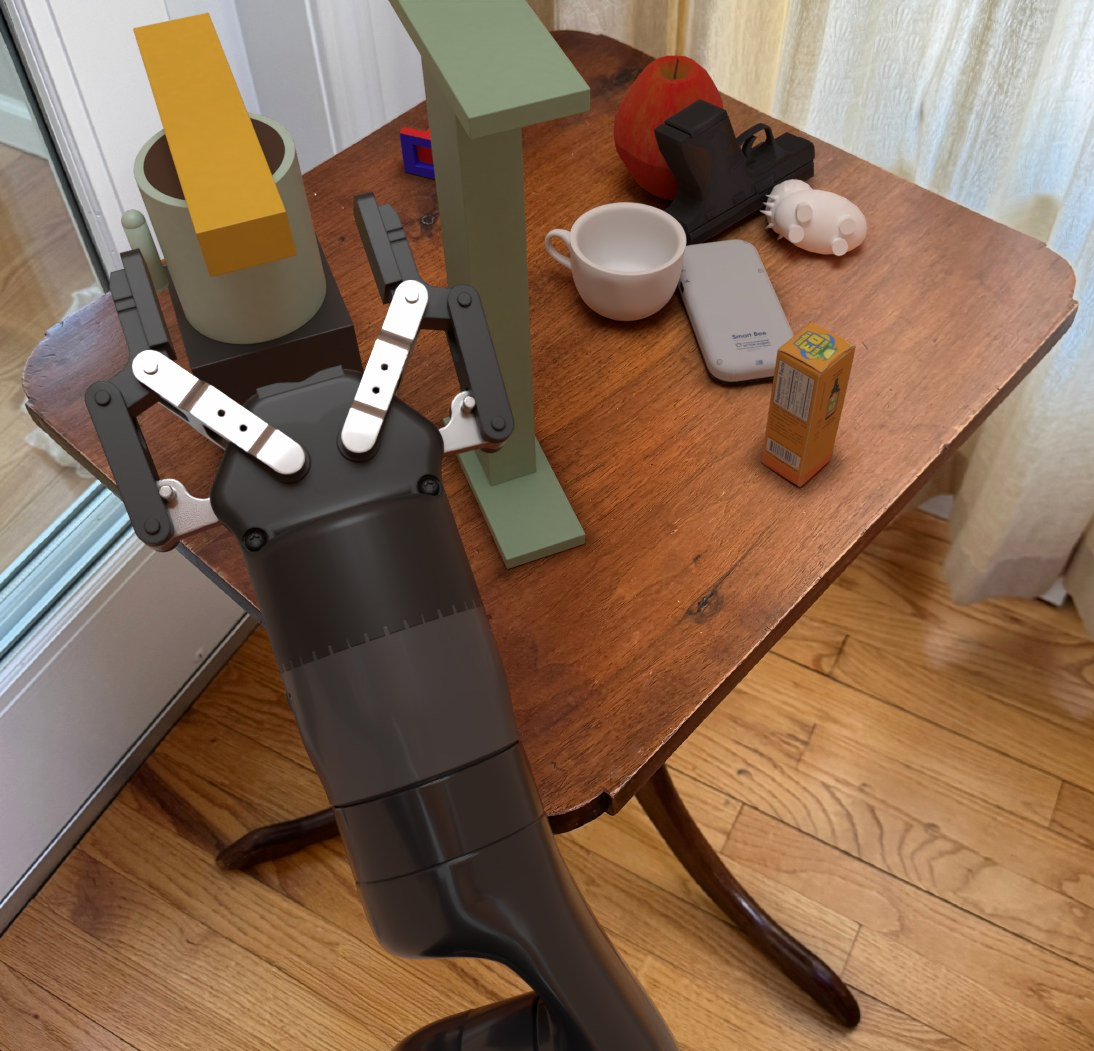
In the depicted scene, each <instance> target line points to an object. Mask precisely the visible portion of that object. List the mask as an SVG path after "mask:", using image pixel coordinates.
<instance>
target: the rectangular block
mask: <svg viewBox="0 0 1094 1051" xmlns="http://www.w3.org/2000/svg"><path fill="white" fill-rule="evenodd" d="M132 30H133V34H134V37H135V40H136V44H137V47H138V50H139V53H140V56H141V57H140V58H141V60H142V63H143V66H144V70H145V73H146V76H147V80H148V83H149V86H150V89H151V93H152V96H153V100H154V102H155V105H156V108H157V112H158V115H159V118H160V122H161V124H162V129H164V132H165V135H166V138H167V141H168V145H169V148H170V151H171V154H172V158H173V161H174V164H175V167H176V171H177V174H178V177H179V180H180V184H181V187H182V190H183V193H184V197H185V200H186V203H187V207H188V210H189V213H190V216H191V220H192V223H193V226H194V229H195V233H196V236H197V239H198V242H199V245H200V248H201V251H202V254H203V257H204V260H205V263H206V266H207V269H208V272H209V275H210V277H215V276H218V275H222V274H226V273H230V272H234V271H238V270H242V269H246V268H250V267H254V266H257V265H261V264H265V263H269V262H273V261H277V260H281V259H285V258H289V257H293V256H296V255H297V253H296V249H295V245H294V241H293V237H292V233H291V229H290V225H289V221H288V217H287V213H286V210H285V207H284V204H283V202H282V199H281V197H280V194H279V192H278V189H277V187H276V184H275V181H274V179H273V176H272V174H271V171H270V169H269V166H268V163H267V161H266V158H265V156H264V153H263V151H262V148H261V146H260V143H259V140H258V138H257V135H256V133H255V130H254V128H253V125H252V122H251V120H250V117H249V115H248V110H247V108H246V105H245V103H244V102H245V101H244V100H243V97H242V95H241V92H240V90H239V87H238V83H237V81H236V79H235V77H234V74H233V71H232V69H231V66H230V63H229V61H228V58H227V56H226V54H225V51H224V49H223V45H222V43H221V41H220V38H219V36H218V33H217V31H216V27H215V25H214V22H213V20H212V18H211V15H210V13H209V12H203V13H200V14H195V15H190V16H185V17H181V18H176V19H175V18H174V19H171V20H166V21H161V22H156V23H151V24H148V25H147V24H146V25H142V26H138V27H137V26H136V27H133V28H132Z"/></svg>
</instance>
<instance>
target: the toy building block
mask: <svg viewBox="0 0 1094 1051" xmlns="http://www.w3.org/2000/svg"><path fill="white" fill-rule="evenodd" d="M399 140H400V149H401V156H402V163H403V171H404V173H407V174H411V175H414V176H419V177H424V178H427V179H431V180H435V172H434V164H433V155H432V147H431V138H430V130H429V125H428V126H427V127H426V129H425V130H419V129H415V128H411V127H407V126H403V127H402V129H401V130H400V131H399Z"/></svg>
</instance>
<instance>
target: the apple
mask: <svg viewBox="0 0 1094 1051" xmlns="http://www.w3.org/2000/svg"><path fill="white" fill-rule="evenodd" d="M699 99H701V100H703V101H706V102H708V103H710V104H713V105H715V106H717V107H720V108H722V109H724V100H723V98H722V96H721V94H720V92H719V89H718V87H717V86H716V84H715V82H714V80H713V79H712V77H711V76H710V74H709V72H708V71H707V69H706V68H704V67H703V66H702V65H700V63H698V62H697V61H696V60H695V59H693V58H691V57H688V56H685V55H679V54H678V55H664V56H660V57H658V58H656V59H654V60H653V61H652V62H650V63H649V64H647V65H646V66H645V68H644V69H643V70H642V71H641V72H640V74H639V75H637V77H636V79H635V80H634V81H633V83H632V84H631V85H630V87H629V89H627V92H626V93H625V94H624V96H623V98H622V100H621V102H620V104H619V106H618V109H617V111H616V113H615V114H614V122H613V129H612V130H613V140H614V145H615V146H614V147H615V150H616V152H617V155H618V157H619V158H620V160H621V162H622V163H623V165H624V167H625V168H626V169H627V171H628V172H629V174H630V175H631V177H632V178H633V179H634V181H635V182H636V183H637V184H638V186H639V187H640V188H642V189H643V190H645V191H646V192H647V193H649V194H650V195H653V196H656V197H657V198H660V199H662V200H670V201H673V200H674V199H675V196H676V193H677V190H678V189H677V182H676V179H675V177H674V175H673V173H672V172H671V170H670V168H669V167H668V165H667V163H666V161H665V159H664V158H663V156H662V154H661V152H660V150H659V147H658V144H657V141H656V137H655V134H654V129H655V128H656V127H658V126H659V125H660V124H662V123H663V124H665V123H664V121H665V120H667V119H668V118H670V117H671V116H673V115H675V114H676V113H678V112H679V111H681V110H683V109H684V108H686V107H687V106H689V105H691V104H692V103H694V102H696V101H697V100H699ZM724 110H725V109H724Z"/></svg>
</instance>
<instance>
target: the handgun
mask: <svg viewBox="0 0 1094 1051" xmlns="http://www.w3.org/2000/svg"><path fill="white" fill-rule="evenodd" d="M664 123H665V124H663V123H662V124H660V125H659V126H658V127H656V128H655V129H654V134H655V137H656V141H657V144H658V147H659V150H660V152H661V154H662V156H663V158H664V159H665V161H666V163H667V165H668V167H669V168H670V170H671V172H672V173H673V175H674V177H675V179H676V182H677V189H678V190H677V193H676V196H675V199H674V200H672V202H671V203H670V205H669V206H668V207H666V208H665V209H663V210H662V211H664V212H666V213H668V214H669V215H671V216H672V217H673V218H675V219H676V220H677V221H678V222H679V224H680V225H681V226H682V228H683V230H684V232H685V235H686V246H689V245H696V244H703V243H705V242H706V241H707V240H709V239H711V238H714V237H715V236H717V235H718V234H720V233H722V232H723V231H725V230H726V229H728V228H730V227H732V226H733V225H735V224H736V223H738V222H739V221H741V220H744V219H745V218H746V217H748V216H749V215H751V214H753V213H754V212H756V211H758V210H761V209H762V208H763V207H764V206H765V207H766V205H765V204H764V203H767V200H768V198H769V197H767V196H766V195H770V194H771V192H772V190H773V188H774V187H775V186H776V185H778V184H781V183H782V182H784V181H787V180H792V179H794V180H801V181H803V182H805V183H806V182H807V181H808V180H811V179H812V178H814V177H815V162H814V159H816V149H815V144H814V142H812V141H811V140H809V139H806V138H805V137H801V136H797V135H796V134H793V133H790V132H788V131H786V132H783V133H782V134H781V135H779V136H777V137H774V134H773V130H772V127H771V126H770V125H767V124H765V123H763V122H759V123H756V124H754V125H752V126H751V127H750V128H748V129H746V130H744V131H743V132H742V133H740V134H739V135H738V136H736V133H735V131H734V128H733V125H732V122H731V119H730V115H728V111H727V109H722V108H720V107H717V106H715V105H713V104H710V103H708V102H706V101H703V100H701V99H699V100H697V101H696V102H694V103H692V104H691V105H689V106H687V107H686V108H684V109H683V110H681V111H679V112H678V113H676V114H675V115H673V116H671V117H670V118H668V119H667V120H665V121H664ZM762 130H764V132H765V133H764V134H765V137H766V138H765V140H764V141H760V142H759V143H757V144H755V145H754V143H755V141H756V139H757V138H758V136H757V135H755V134H758V133H759V132H761V131H762ZM753 145H754V146H753Z"/></svg>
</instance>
